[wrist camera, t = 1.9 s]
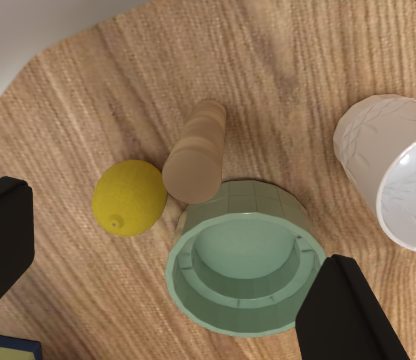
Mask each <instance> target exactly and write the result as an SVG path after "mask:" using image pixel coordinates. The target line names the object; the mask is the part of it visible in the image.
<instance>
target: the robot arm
mask: <svg viewBox="0 0 416 360" xmlns="http://www.w3.org/2000/svg"><path fill="white" fill-rule="evenodd" d="M34 254H35V252H34V221H33V192H32V188H31V187H29V186H28V184H27V182H26V181H24V180H20V179H16V178H12V177H8V176H4V177H1V178H0V299H1V298H2V296H3V295H4V294H5V293H6V292H7V291H8V290H9V289H10V288H11V286H12V285H13V284H14V283H15V282H16V281H17V280H18V279H19V278H20V277H21V275H22V274H23V273H24V272H25V271H26V270H27V269H28V268H29V266H30V265H31V264H32V262H33V259H34ZM295 328H296V333H297V338H298V342H299V347H300V352H301V356H302V360H410V359H409V357H408V355H407V353H406V351H405V350H404V348H403V346H402V344H401V342H400V340H399V339H398V337H397V335H396V333H395V331H394V330H393V328H392V326H391V324H390V322H389V321H388V319H387V317H386V315H385V313H384V311H383V310H382V308H381V306H380V304H379V302H378V301H377V299H376V297H375V295H374V293H373V292H372V290H371V288H370V286H369V284H368V282H367V281H366V279H365V277H364V275H363V273H362V272H361V270H360V268H359V266H358V264H357V262H356V261H355V260H354V259H353V258H350V257H345V256H341V255H337V254H334V255H332V256H331V258H330V257H327V258H326V259H325V260H324V262H323V264H322V266H321V268H320V270H319V272H318V274H317V276H316V278H315V280H314V282H313V284H312V285H311V287H310V289H309V291H308V293H307V295H306V297H305V299H304V301H303V303H302V305H301V307H300V309H299V311H298V313H297V315H296V319H295Z"/></svg>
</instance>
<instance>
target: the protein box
mask: <svg viewBox="0 0 416 360" xmlns="http://www.w3.org/2000/svg"><path fill="white" fill-rule="evenodd" d="M0 360H42V355H41V348H40V343H39V342H33V341H27V340H21V339H15V338H9V337H3V336H0Z"/></svg>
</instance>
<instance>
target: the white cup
mask: <svg viewBox="0 0 416 360" xmlns="http://www.w3.org/2000/svg"><path fill="white" fill-rule="evenodd" d="M333 145H334V152H335V156H336V158H337V159H338V160H339V162H340V163H341V165H342V166H343V168H344V170H345V173H346V175H347V176H348V178H349V180H350V181H351V183H352V184H353V186H354V187H355V189H356V191H357V192H358V194H359V195H360V197H361V198H362V200H363V201H364V203H365V204H366V206H367V207H368V208H369V210H370V211H371V213H372V214H373V216H374V217H375V219H376V220H377V222H378V223H379V225H380V226H381V228H382V229H383V231H384V232H385V233H386V234H387V236H388V237H389V238H390V239H392V240H393V241H394V242H395V243H397V244H399V245H400V246H402V247H404V248H407V249H409V250H412V251H416V98H408V97H404V96H400V95H396V94H383V95H372V96H370V97H368V98H366V99H364V100H362V101H360V102H358V103H356V104H354V105H352V106H351V107H350V109H349V110H348V111H347V112H346V113H345V114H344V115H343V116H342V118H341V119H340V120H339V121H338V124H337V127H336V130H335V133H334V136H333Z"/></svg>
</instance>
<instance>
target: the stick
mask: <svg viewBox="0 0 416 360" xmlns="http://www.w3.org/2000/svg"><path fill="white" fill-rule="evenodd" d="M226 119H227V114H226V110H225V108H224V106H223V105H222V104H221V103H220V102H218V101H216V100H213V99H206V100H203V101H201V102H199V103H198V104H197V105H196V106H195V108H194V110H193V112H192V114H191V116H190V118H189V119H188V121H187V123H186V125H185V127H184V129H183V131H182V132H181V134H180V136H179V138H178V140H177V142H176V144H175V146H174V147H173V149H172V151H171V153H170V155H169V157H168V159H167V161H166V162H165V164H164V167H163V170H162V180H163V184H164V186H165V188H166V190H167V191H168V192H169V194H170V195H172V196H173V197H174V198H175V199H177V200H179V201H181V202H184V203H188V204H198V203H203V202H205V201H208V200H209V199H211V198H212V197H213V196H214V195H215V194H216V193H217V192H218V190H219V188H220V185H221V180H222V167H223V155H224V143H225V131H226Z"/></svg>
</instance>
